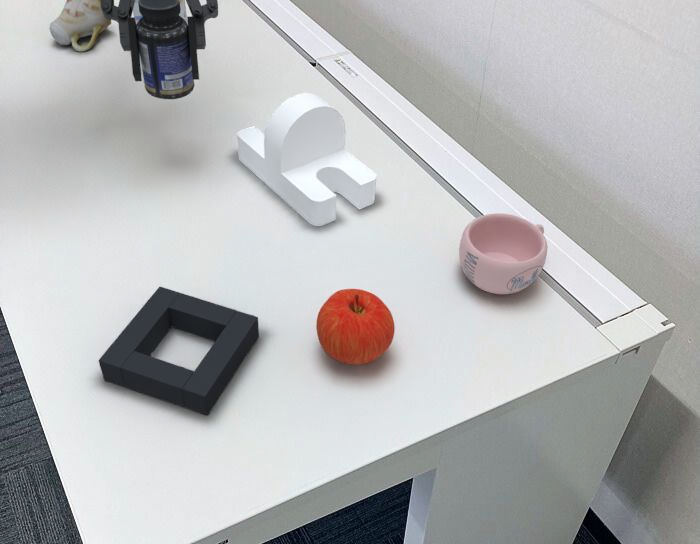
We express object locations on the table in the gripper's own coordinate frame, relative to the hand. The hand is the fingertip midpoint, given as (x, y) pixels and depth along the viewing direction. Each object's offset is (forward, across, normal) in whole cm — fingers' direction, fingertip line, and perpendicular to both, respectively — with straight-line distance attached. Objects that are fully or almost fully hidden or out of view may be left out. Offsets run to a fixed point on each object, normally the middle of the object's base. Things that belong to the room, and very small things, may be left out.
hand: (166, 76), depth 92 cm
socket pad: (+33, 0, +13) cm, 35 cm away
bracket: (+11, -17, -9) cm, 22 cm away
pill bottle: (0, 0, -5) cm, 5 cm away
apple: (+34, -18, +14) cm, 41 cm away
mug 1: (-19, +15, -40) cm, 46 cm away
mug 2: (+27, -38, +6) cm, 47 cm away
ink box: (-17, +2, -37) cm, 41 cm away
